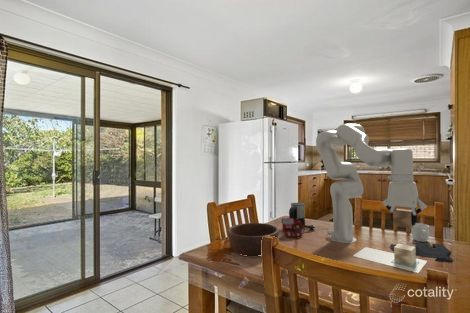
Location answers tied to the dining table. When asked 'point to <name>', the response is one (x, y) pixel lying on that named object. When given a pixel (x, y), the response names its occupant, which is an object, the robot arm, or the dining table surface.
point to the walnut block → (402, 218)
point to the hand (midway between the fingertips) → (404, 222)
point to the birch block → (405, 254)
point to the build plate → (388, 259)
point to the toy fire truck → (292, 227)
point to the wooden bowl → (249, 237)
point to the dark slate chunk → (431, 251)
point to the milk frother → (299, 213)
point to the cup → (420, 232)
